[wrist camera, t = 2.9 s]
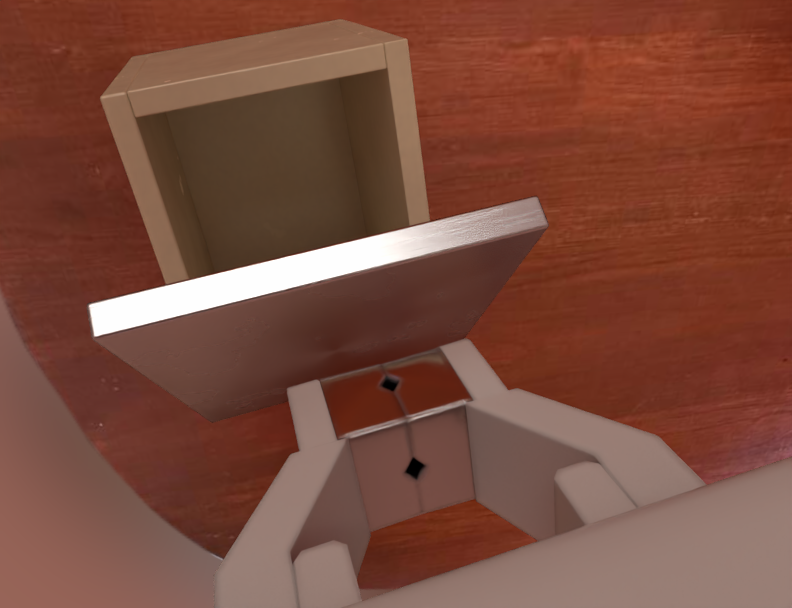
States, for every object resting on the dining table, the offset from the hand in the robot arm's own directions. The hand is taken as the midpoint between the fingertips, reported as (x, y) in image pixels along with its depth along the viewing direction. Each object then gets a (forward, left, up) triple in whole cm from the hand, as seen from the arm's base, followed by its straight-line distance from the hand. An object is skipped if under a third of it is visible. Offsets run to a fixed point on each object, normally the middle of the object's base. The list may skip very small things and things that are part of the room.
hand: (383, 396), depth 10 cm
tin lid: (+2, -3, -8) cm, 9 cm away
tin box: (+1, -2, -24) cm, 24 cm away
